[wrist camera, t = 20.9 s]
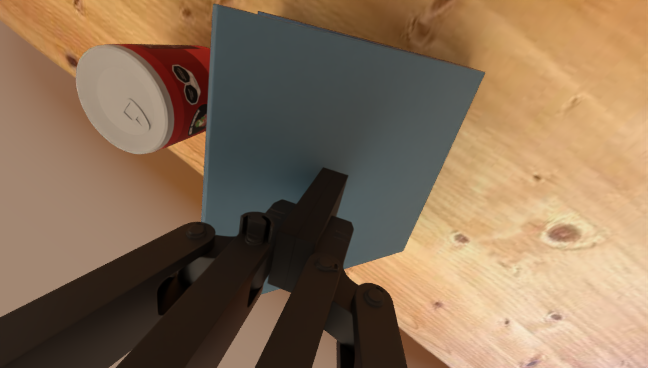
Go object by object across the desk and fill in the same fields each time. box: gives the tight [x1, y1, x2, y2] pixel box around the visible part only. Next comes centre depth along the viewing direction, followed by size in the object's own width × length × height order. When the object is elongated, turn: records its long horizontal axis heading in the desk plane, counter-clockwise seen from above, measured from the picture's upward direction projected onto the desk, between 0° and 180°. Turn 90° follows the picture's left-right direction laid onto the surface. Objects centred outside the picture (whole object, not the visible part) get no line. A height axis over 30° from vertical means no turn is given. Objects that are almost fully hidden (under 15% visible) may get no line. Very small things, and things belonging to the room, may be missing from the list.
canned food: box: [76, 44, 211, 154], centre depth 27 cm, size 8×8×11 cm
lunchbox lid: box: [201, 4, 485, 294], centre depth 19 cm, size 18×16×1 cm
